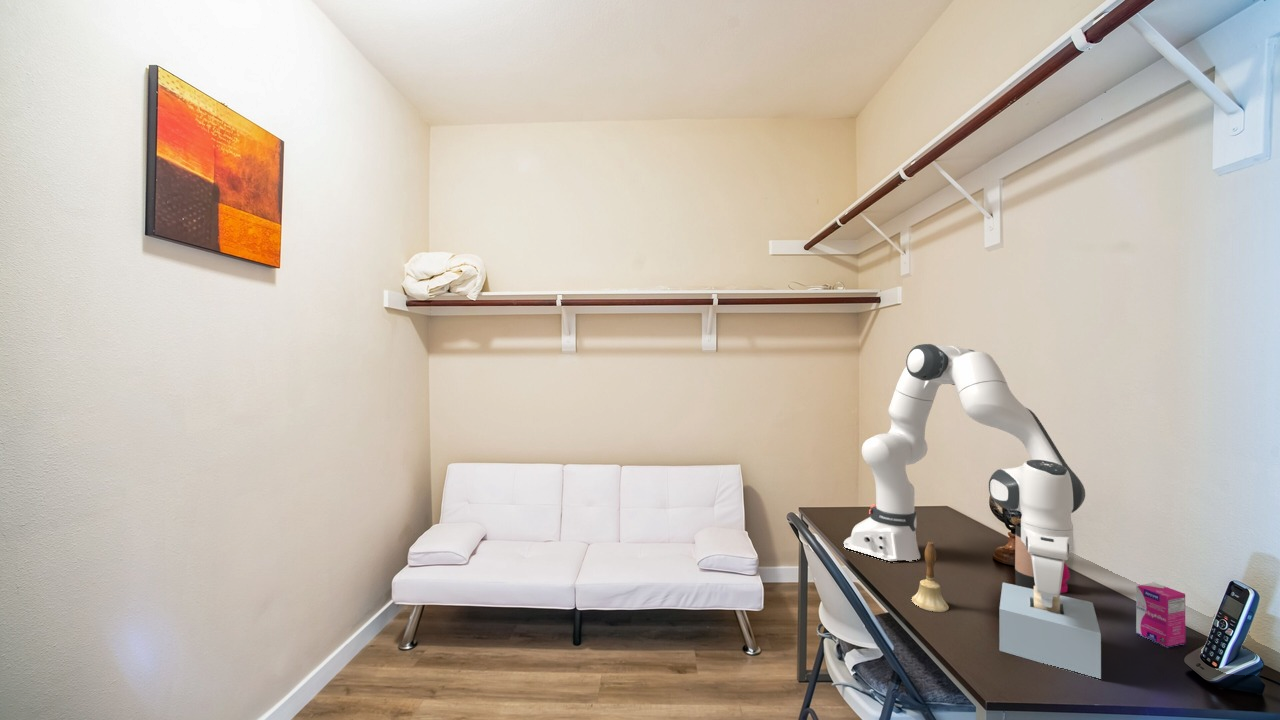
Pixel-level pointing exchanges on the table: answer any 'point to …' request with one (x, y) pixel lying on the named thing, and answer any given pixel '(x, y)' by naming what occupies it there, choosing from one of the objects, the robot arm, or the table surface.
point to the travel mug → (1023, 562)
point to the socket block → (1050, 631)
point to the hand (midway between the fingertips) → (1046, 600)
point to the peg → (1037, 604)
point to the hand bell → (930, 586)
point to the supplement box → (1160, 614)
